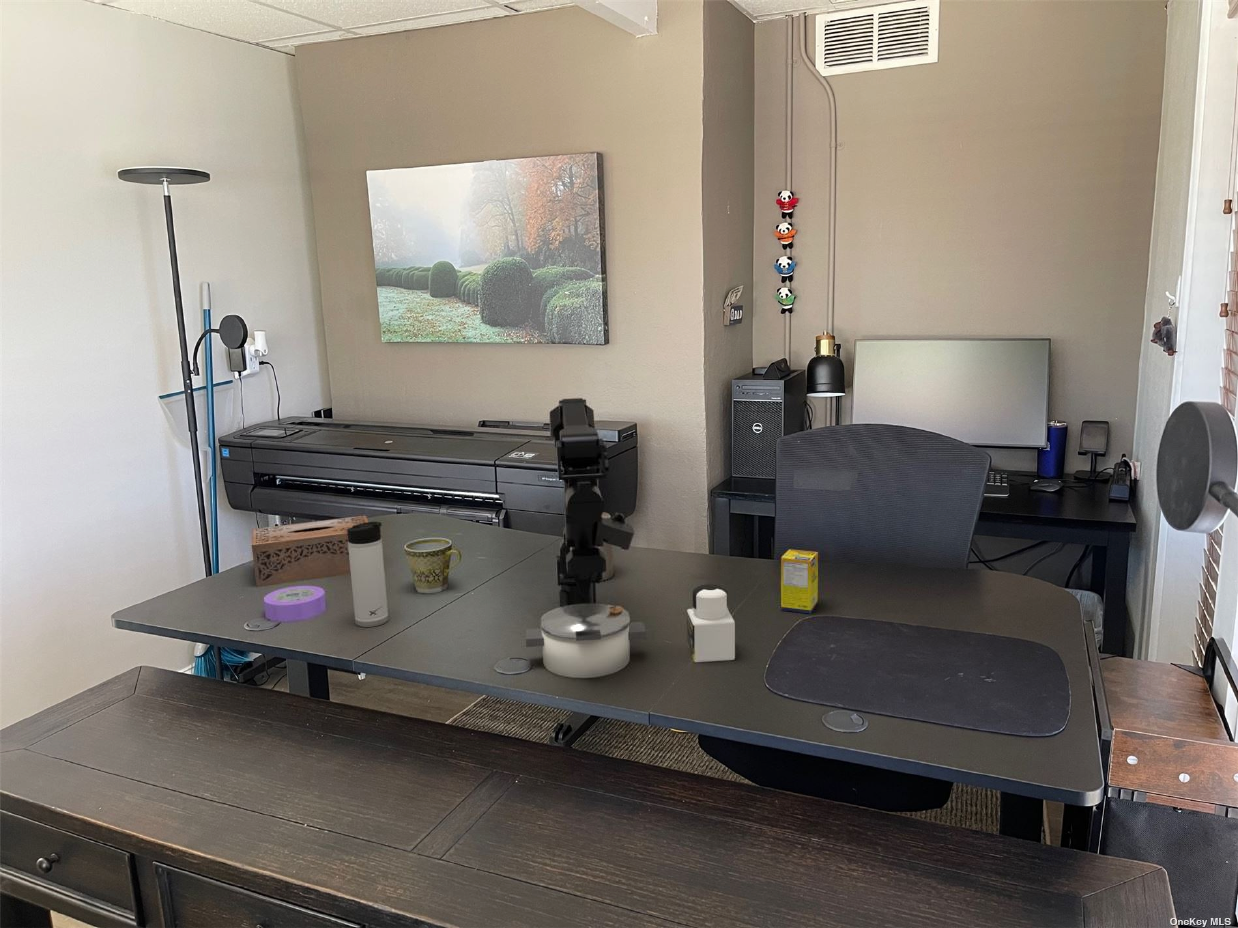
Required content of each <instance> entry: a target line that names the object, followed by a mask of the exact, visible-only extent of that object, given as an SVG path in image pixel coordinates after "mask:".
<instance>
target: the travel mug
mask: <svg viewBox="0 0 1238 928" xmlns="http://www.w3.org/2000/svg"><path fill="white" fill-rule="evenodd" d="M381 528H382V522H379V521H368V522H367V523H361V524H357V525H354V526H352V528H350V529H347V535H348V544H349V545H348V549H349V559H350V570H351V574H350V578H351V580H350V581H351V588H352V589H351V590H352V598H353V599H352V600H353V609H354V621H355V624H356V625H357V626H358V627H363V628H372V627H373V628H374V627H377V626H382V625H384V624H386V622H388V621H389V612H388V610H389V609H388V600H387V599H388V598H387V589H386V585H387V584H386V575H385V564H384V552H383V541H382V534H381V533H382V532H381Z"/></svg>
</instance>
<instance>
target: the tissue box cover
mask: <svg viewBox="0 0 1238 928" xmlns="http://www.w3.org/2000/svg"><path fill="white" fill-rule="evenodd" d="M367 522H369V520H368V518H367V516H366V515H359V516H350V517H343V518H333V519H327V520H326V519H324V520H317V521H310V522H309V521H308V522H301V523H293V524H292V523H291V524H284V525H276V526H275V525H274V526H268V527H267V526H265V527H260V528H252V529H251V551H252V553H251V554H252V559H253V560H252V561H253V569H254V576H255V577H254V578H255V585H256V588H262V587H269V586H276V585H282V584H290V583H297V582H298V583H299V582H304V580H305V581H310V580H311V581H312V580H319V579H326V578H332V577H341V576H346V575H351V570H350V559H349V549H348V545H349V544H348V535H347V529H350V528H352V526H354V525H357V524H361V523H367Z"/></svg>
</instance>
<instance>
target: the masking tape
mask: <svg viewBox="0 0 1238 928" xmlns="http://www.w3.org/2000/svg"><path fill="white" fill-rule="evenodd" d="M263 606H264V615H265V619H266V620H268V619H270V620H272V621H271V622H274V621H278V622H277V623H291V622H293V623H294V622H299V621H305V620H308V619H312V618H315V617H318V616H319V615H321V614H323V613H324V612H325V611H326V609H327V603H326V593H325V590H324V588H322V587H319V586H313V585H298V586H289V587H284V588H280V589H277V590H273V591H272V592H270V593H268V594H266V595H265V596H264V597H263ZM270 620H269V621H270Z"/></svg>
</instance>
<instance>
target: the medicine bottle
mask: <svg viewBox="0 0 1238 928" xmlns="http://www.w3.org/2000/svg"><path fill="white" fill-rule="evenodd" d="M728 594H729V592H728V590H727V588H725V587H723V586H721V585H718V584H714V583H713V584H712V583H711V584H710V583H708V584H701V585H699V586H696V587H695V588H693V590H692V608H687V610H686V630H687V631H686V633H687V635H686V636H687V642H686V643H687V648H688V650H689V653H690V655H691V657H692V660H693V663H707V662H721V661H722V662H724V661H733V660H735V658H736V648H735V647H736V641H735V640H736V636H735V635H736V633H735V632H736V629H735V628H736V626H735V625H736V624H735V623H736V622H735V620H734V618H733V616H732V615H731V613H730V611H729V597H728V596H729V595H728Z"/></svg>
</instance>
